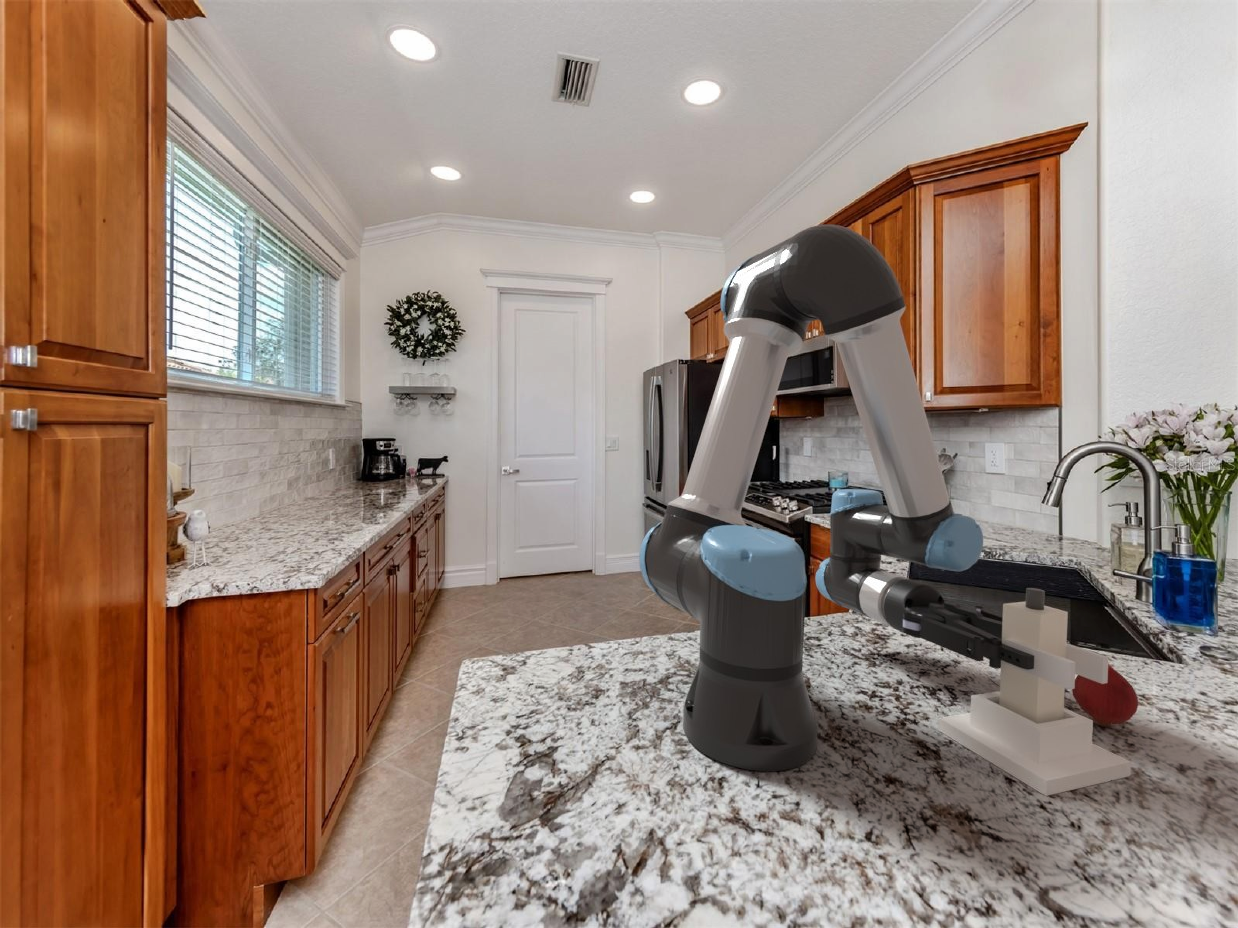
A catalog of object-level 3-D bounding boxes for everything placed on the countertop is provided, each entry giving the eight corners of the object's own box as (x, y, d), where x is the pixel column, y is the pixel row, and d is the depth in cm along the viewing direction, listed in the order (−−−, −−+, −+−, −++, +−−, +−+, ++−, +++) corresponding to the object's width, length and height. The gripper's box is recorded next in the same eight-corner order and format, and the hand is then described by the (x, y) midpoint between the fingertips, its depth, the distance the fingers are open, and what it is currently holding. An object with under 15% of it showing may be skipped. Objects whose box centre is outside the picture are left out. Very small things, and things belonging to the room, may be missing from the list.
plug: (999, 707, 59) (1003, 586, 58) (1025, 703, 60) (1029, 583, 59) (1036, 726, 55) (1041, 596, 54) (1063, 721, 56) (1068, 593, 55)
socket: (938, 730, 62) (939, 689, 61) (1013, 717, 65) (1014, 678, 65) (1045, 796, 50) (1048, 745, 50) (1130, 776, 53) (1132, 728, 53)
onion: (1108, 714, 66) (1111, 653, 66) (1150, 740, 60) (1154, 672, 60) (1059, 711, 67) (1062, 650, 66) (1096, 736, 61) (1099, 669, 61)
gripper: (947, 624, 77) (1144, 698, 54) (852, 635, 72) (1024, 721, 50) (949, 574, 77) (1147, 628, 54) (853, 581, 72) (1027, 644, 49)
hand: (1088, 672), depth 52 cm, fingers closed on plug, 4 cm apart
